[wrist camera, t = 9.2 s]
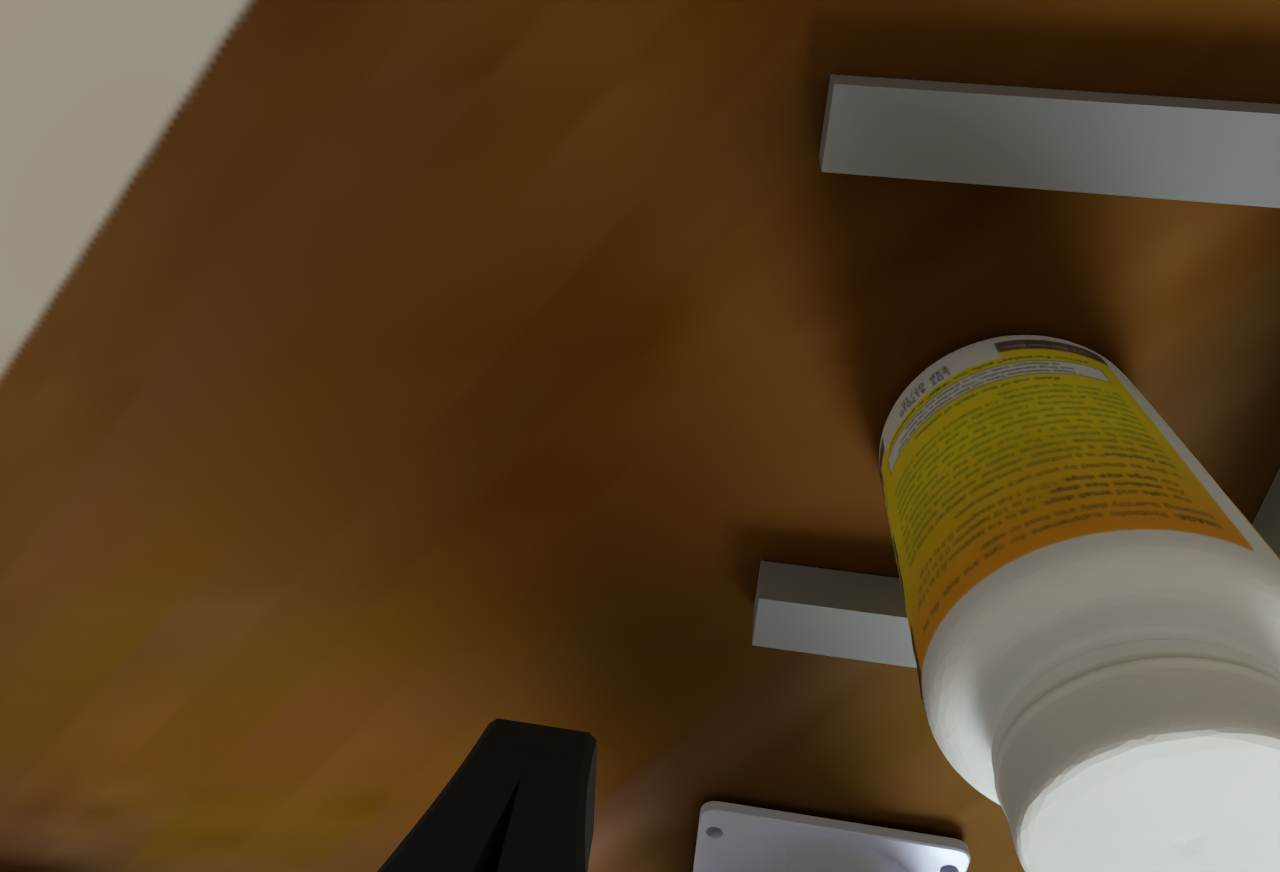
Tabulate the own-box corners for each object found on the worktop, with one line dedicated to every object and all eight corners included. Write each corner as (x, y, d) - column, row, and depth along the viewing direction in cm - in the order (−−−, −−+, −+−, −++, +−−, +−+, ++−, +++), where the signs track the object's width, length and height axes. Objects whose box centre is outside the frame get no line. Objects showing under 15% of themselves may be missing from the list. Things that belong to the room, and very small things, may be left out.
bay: (1249, 672, 21) (1355, 835, 17) (753, 605, 23) (746, 744, 19) (1543, 121, 15) (1818, 179, 11) (830, 73, 16) (844, 110, 12)
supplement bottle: (824, 441, 20) (856, 822, 11) (1025, 271, 17) (1274, 588, 9) (984, 581, 21) (1128, 1025, 12) (1194, 441, 19) (1564, 871, 10)
